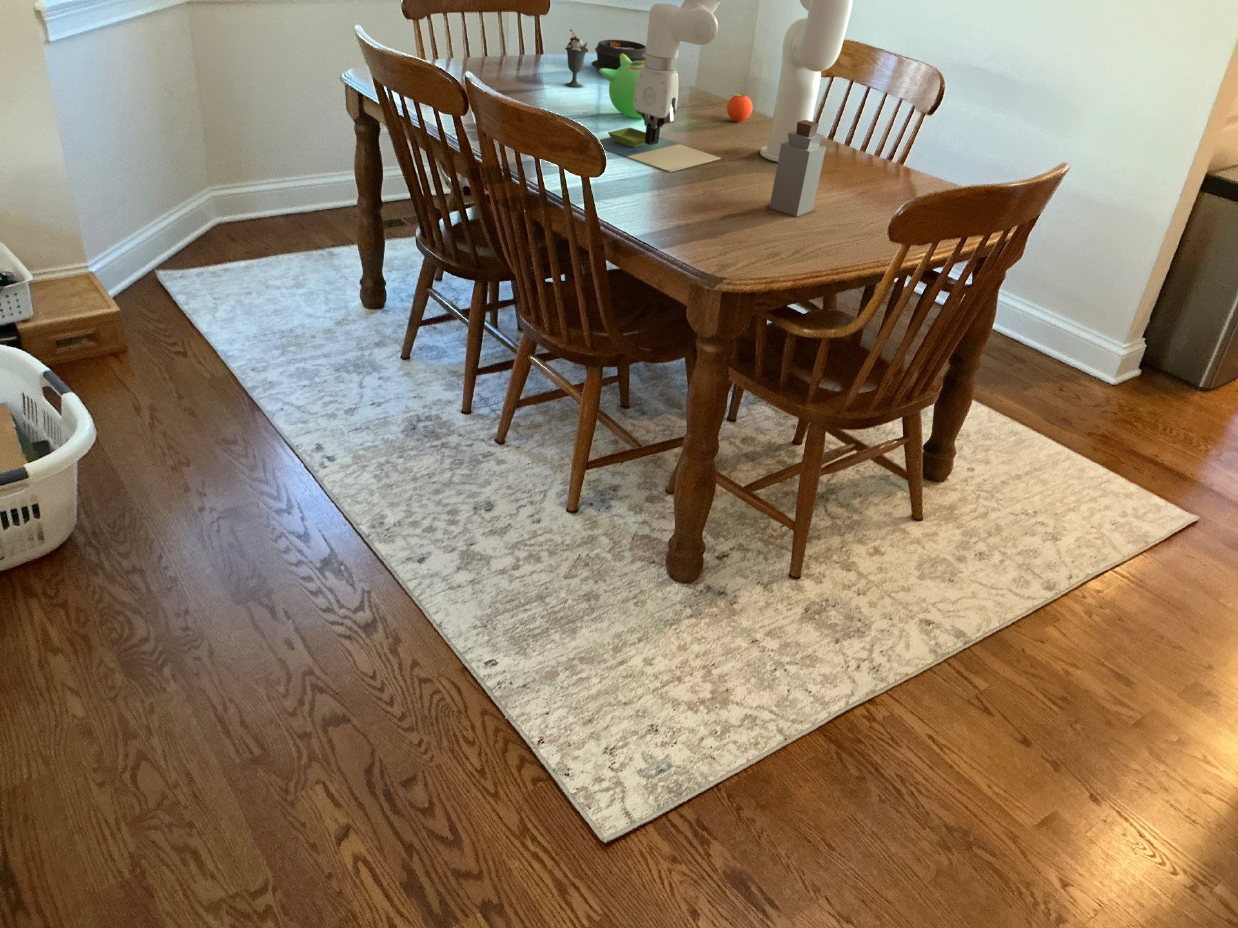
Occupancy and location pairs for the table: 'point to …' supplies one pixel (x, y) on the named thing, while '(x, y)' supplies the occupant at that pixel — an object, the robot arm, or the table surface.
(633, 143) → the green square dish
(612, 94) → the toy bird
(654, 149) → the placemat
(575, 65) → the sundae
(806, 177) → the perfume bottle
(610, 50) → the casserole
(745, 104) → the clementine
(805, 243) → the table surface
